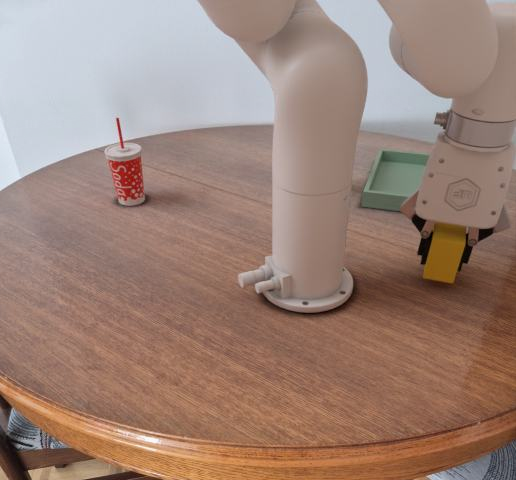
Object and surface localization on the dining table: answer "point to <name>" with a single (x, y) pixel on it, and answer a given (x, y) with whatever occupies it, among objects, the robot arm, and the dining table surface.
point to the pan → (393, 178)
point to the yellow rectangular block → (445, 252)
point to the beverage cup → (126, 170)
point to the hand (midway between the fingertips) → (440, 261)
